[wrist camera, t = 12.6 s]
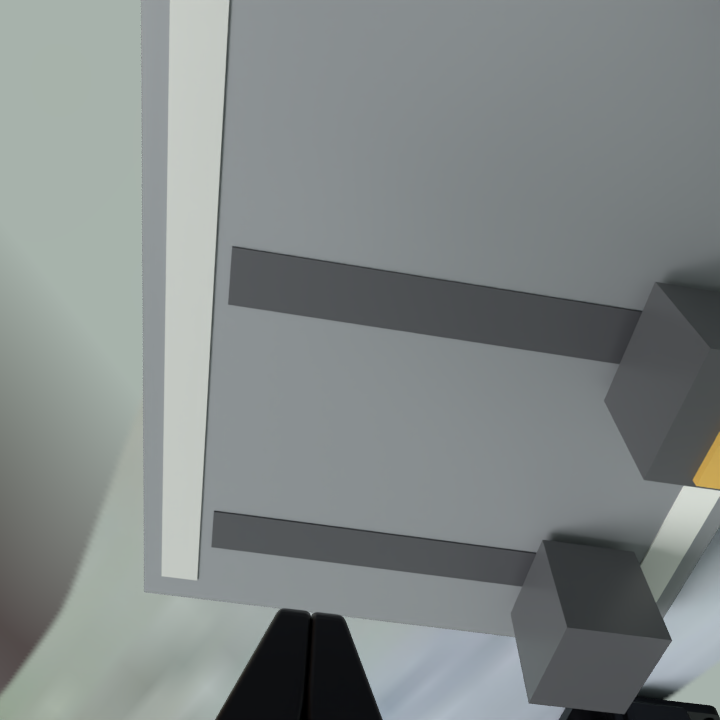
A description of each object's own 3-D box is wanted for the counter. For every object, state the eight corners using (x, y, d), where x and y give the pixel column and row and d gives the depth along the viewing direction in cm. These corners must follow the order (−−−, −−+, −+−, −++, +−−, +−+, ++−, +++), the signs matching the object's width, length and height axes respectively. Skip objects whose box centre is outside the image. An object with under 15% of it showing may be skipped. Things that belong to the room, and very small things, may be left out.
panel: (624, 606, 26) (680, 753, 22) (159, 548, 25) (109, 689, 20) (1085, -212, 13) (1476, -298, 9) (171, -419, 12) (41, -652, 7)
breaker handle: (708, 416, 19) (770, 503, 16) (603, 400, 18) (646, 486, 16) (771, 300, 17) (853, 375, 14) (655, 281, 17) (714, 353, 14)
